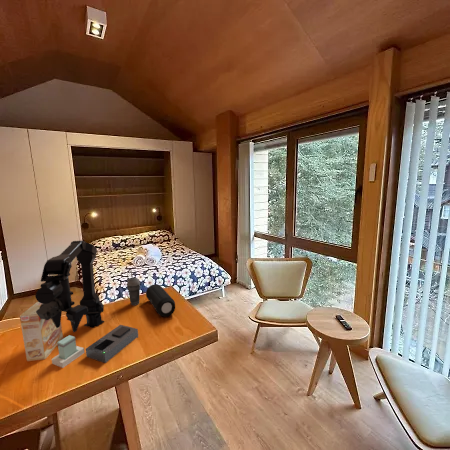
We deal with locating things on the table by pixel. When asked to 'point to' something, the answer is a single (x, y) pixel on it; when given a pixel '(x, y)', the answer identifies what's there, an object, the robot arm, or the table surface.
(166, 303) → the portable speaker
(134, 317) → the table surface
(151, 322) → the table surface
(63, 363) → the light grey tray
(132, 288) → the beverage cup
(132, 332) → the panel
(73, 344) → the plug
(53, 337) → the coffeecake box
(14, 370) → the table surface
